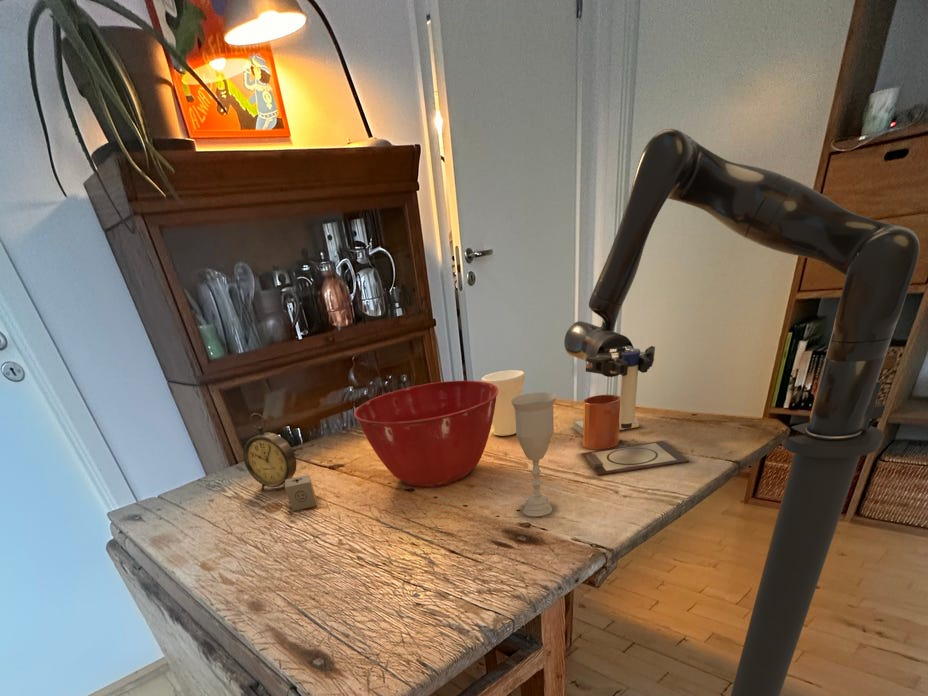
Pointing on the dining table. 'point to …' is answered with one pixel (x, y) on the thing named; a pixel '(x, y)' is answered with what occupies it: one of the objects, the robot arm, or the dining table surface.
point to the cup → (505, 399)
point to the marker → (629, 389)
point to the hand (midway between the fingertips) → (635, 367)
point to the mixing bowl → (430, 430)
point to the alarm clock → (269, 458)
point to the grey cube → (300, 492)
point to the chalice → (535, 440)
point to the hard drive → (579, 425)
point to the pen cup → (601, 421)
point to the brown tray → (633, 458)
